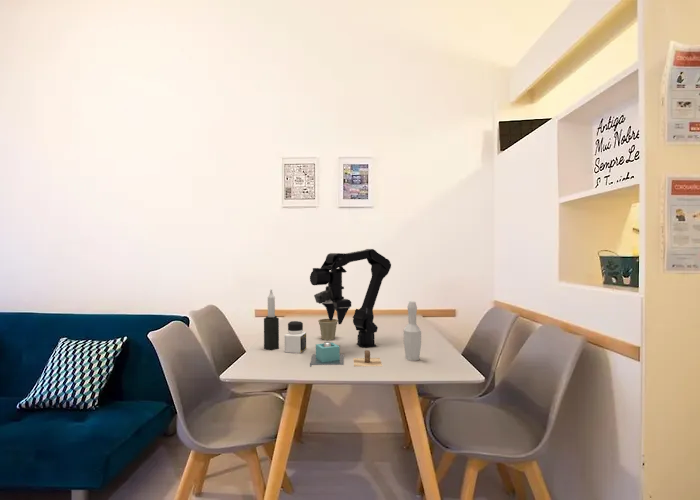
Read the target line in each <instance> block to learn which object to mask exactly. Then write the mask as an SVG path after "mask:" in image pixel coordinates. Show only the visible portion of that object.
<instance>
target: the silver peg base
mask: <svg viewBox="0 0 700 500" xmlns="http://www.w3.org/2000/svg"><path fill="white" fill-rule="evenodd" d="M331 342H332V341H331ZM331 342H330V341H324V342H323V343H324V347H331ZM344 357H345V355H344V353H340V360H336V361H329V362H321V361H320V360H318V359H317V358H316V353H313V354H312V355H311V359H310V362H309V367H312V366H344Z"/></svg>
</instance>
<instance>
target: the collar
mask: <svg viewBox="0 0 700 500" xmlns="http://www.w3.org/2000/svg"><path fill="white" fill-rule="evenodd" d="M340 350H341V349H340V346H339V345H338V344H336V343H334V342H332V341H331V347H324V342H323V343H316V344H315V354H316V358H317V359H318V360H320V361H321V362H329V361H336V360H340V354H341V353H340Z"/></svg>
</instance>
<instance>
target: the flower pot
mask: <svg viewBox="0 0 700 500" xmlns="http://www.w3.org/2000/svg"><path fill="white" fill-rule="evenodd" d="M317 321H318V325H319V328H320V329H319V330H320V335H321V336H320V337H321V339H322V340H323V341H330V340H331V341H333V340H335V339H336V333H337V325H338V318H337V319H336V318H333V319H332V320H331V321H330V320H329V318H321V319H318V320H317Z"/></svg>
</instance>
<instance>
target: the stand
mask: <svg viewBox="0 0 700 500" xmlns="http://www.w3.org/2000/svg"><path fill="white" fill-rule="evenodd" d="M352 359H353V360H352V361H353V367H383V363H382V361H381V358H380V357H371V351H370V350H369V349H367V350H366V349H365V350H364V357H354V358H352Z"/></svg>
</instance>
